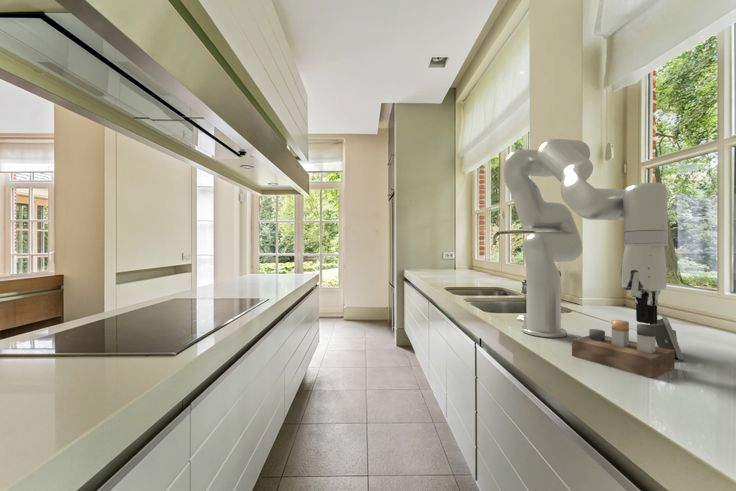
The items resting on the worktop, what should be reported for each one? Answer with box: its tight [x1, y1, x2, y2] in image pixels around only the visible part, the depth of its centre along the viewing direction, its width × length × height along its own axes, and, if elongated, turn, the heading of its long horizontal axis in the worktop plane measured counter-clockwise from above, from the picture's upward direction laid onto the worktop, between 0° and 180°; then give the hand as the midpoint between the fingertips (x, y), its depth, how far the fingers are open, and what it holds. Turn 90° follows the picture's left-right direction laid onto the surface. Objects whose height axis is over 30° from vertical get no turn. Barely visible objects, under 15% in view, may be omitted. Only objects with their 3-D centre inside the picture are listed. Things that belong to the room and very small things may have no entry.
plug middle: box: [611, 319, 630, 347], centre depth 78 cm, size 3×3×6 cm
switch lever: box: [588, 328, 606, 342], centre depth 82 cm, size 3×3×6 cm
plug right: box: [636, 323, 656, 354], centre depth 73 cm, size 3×3×6 cm
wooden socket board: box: [571, 335, 676, 379], centre depth 78 cm, size 16×11×4 cm
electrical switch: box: [649, 315, 684, 361], centre depth 83 cm, size 9×5×9 cm, turn 141°
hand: (646, 322), depth 73 cm, fingers closed
